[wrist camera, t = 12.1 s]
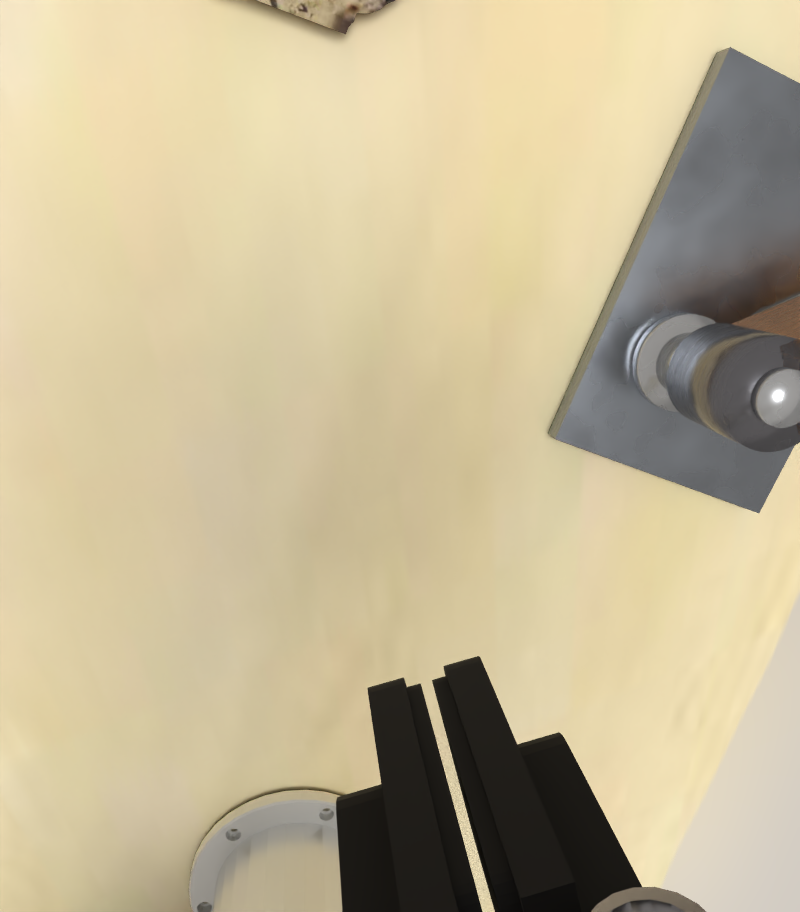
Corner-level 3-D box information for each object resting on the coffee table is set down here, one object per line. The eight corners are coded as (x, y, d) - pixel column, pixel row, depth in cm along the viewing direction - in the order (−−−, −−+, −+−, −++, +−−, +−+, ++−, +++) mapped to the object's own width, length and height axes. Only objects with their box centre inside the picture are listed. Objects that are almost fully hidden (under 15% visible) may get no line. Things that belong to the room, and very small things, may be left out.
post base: (752, 507, 44) (802, 538, 39) (547, 433, 41) (577, 457, 37) (932, 164, 39) (1009, 156, 35) (716, 53, 36) (772, 29, 32)
